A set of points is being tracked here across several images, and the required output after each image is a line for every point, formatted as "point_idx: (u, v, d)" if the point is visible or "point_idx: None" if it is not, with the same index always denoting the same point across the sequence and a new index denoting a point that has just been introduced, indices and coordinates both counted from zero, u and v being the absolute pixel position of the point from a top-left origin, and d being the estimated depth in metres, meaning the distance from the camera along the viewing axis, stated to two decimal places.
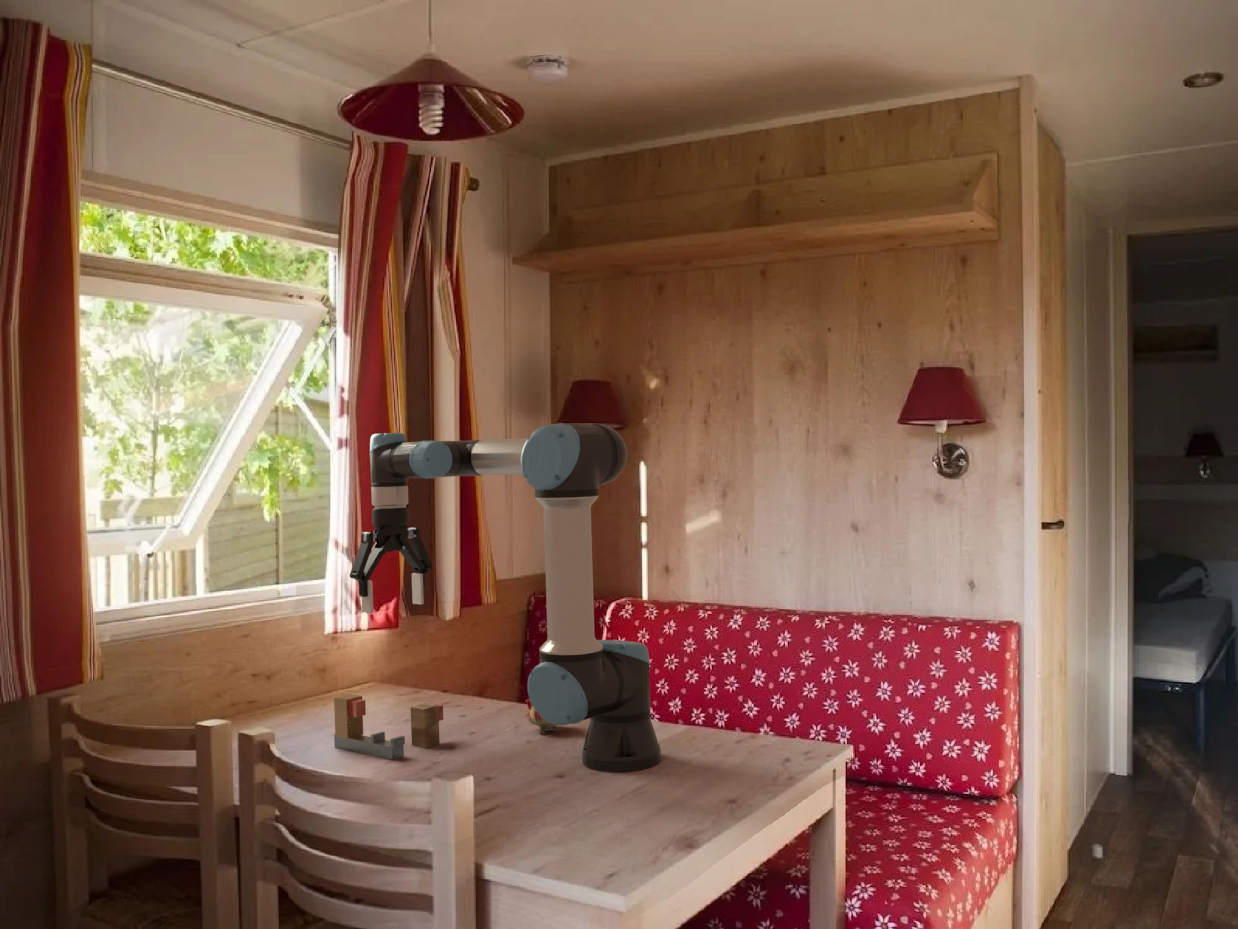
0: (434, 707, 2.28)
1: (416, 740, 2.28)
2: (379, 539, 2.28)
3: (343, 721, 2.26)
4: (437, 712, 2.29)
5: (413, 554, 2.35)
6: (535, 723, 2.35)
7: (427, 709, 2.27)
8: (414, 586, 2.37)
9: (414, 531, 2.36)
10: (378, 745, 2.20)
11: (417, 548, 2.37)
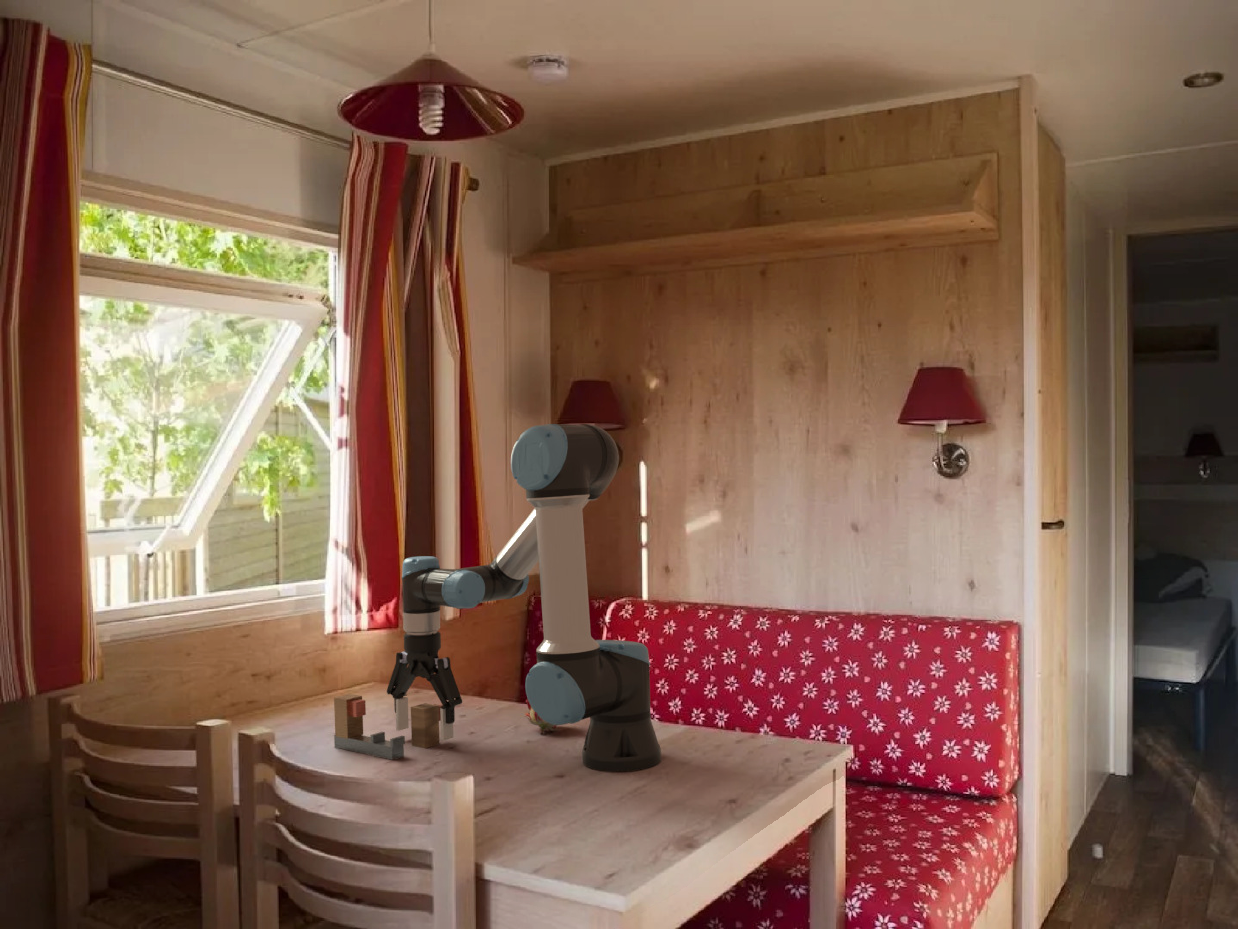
0: (434, 707, 2.28)
1: (416, 740, 2.28)
2: None
3: (343, 721, 2.26)
4: (437, 712, 2.29)
5: (435, 685, 2.25)
6: (535, 723, 2.35)
7: (427, 709, 2.27)
8: None
9: None
10: (378, 745, 2.20)
11: None
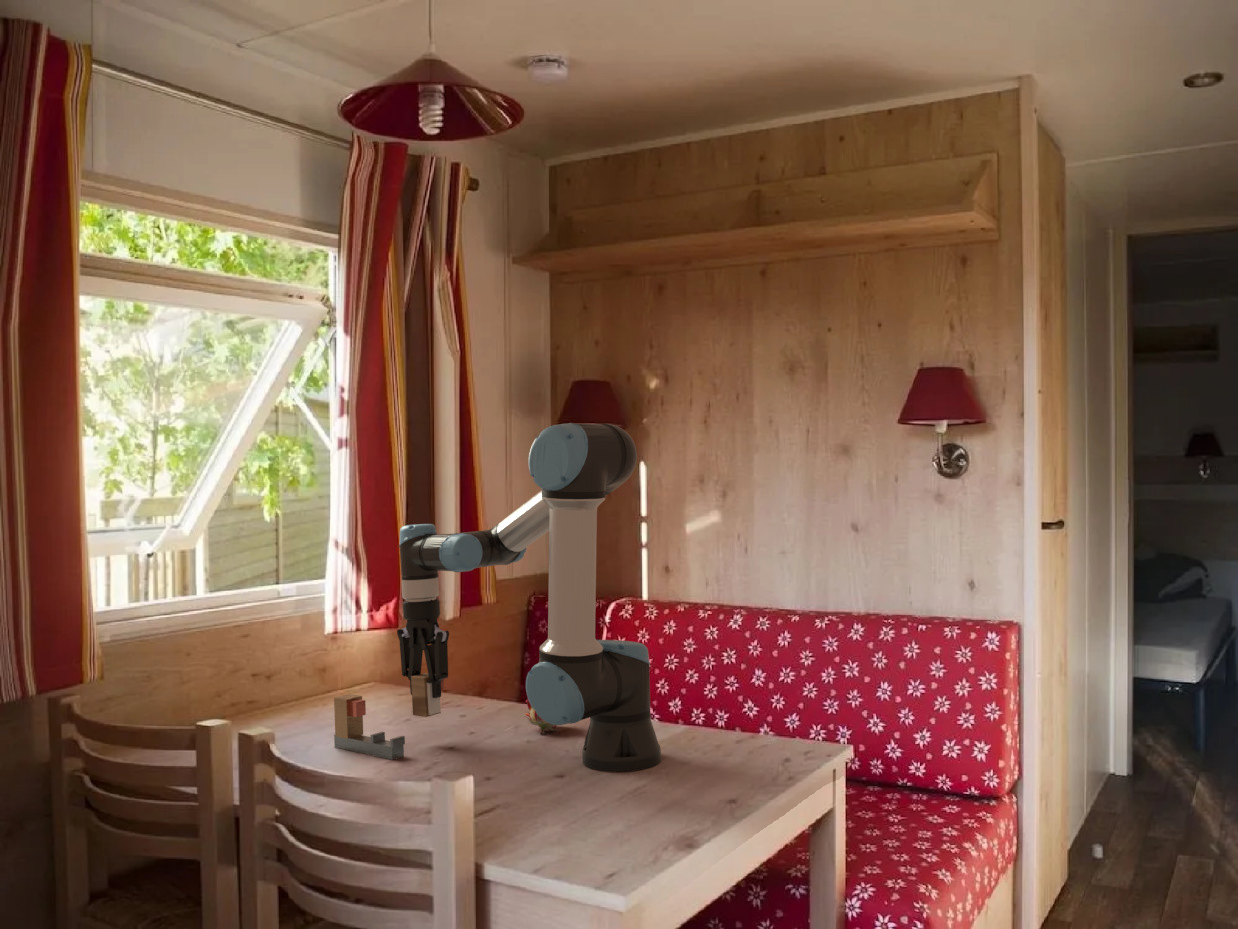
0: None
1: (417, 709, 2.27)
2: (408, 631, 2.30)
3: (343, 721, 2.26)
4: None
5: (427, 657, 2.26)
6: (535, 723, 2.35)
7: (427, 678, 2.26)
8: None
9: None
10: (378, 745, 2.20)
11: None
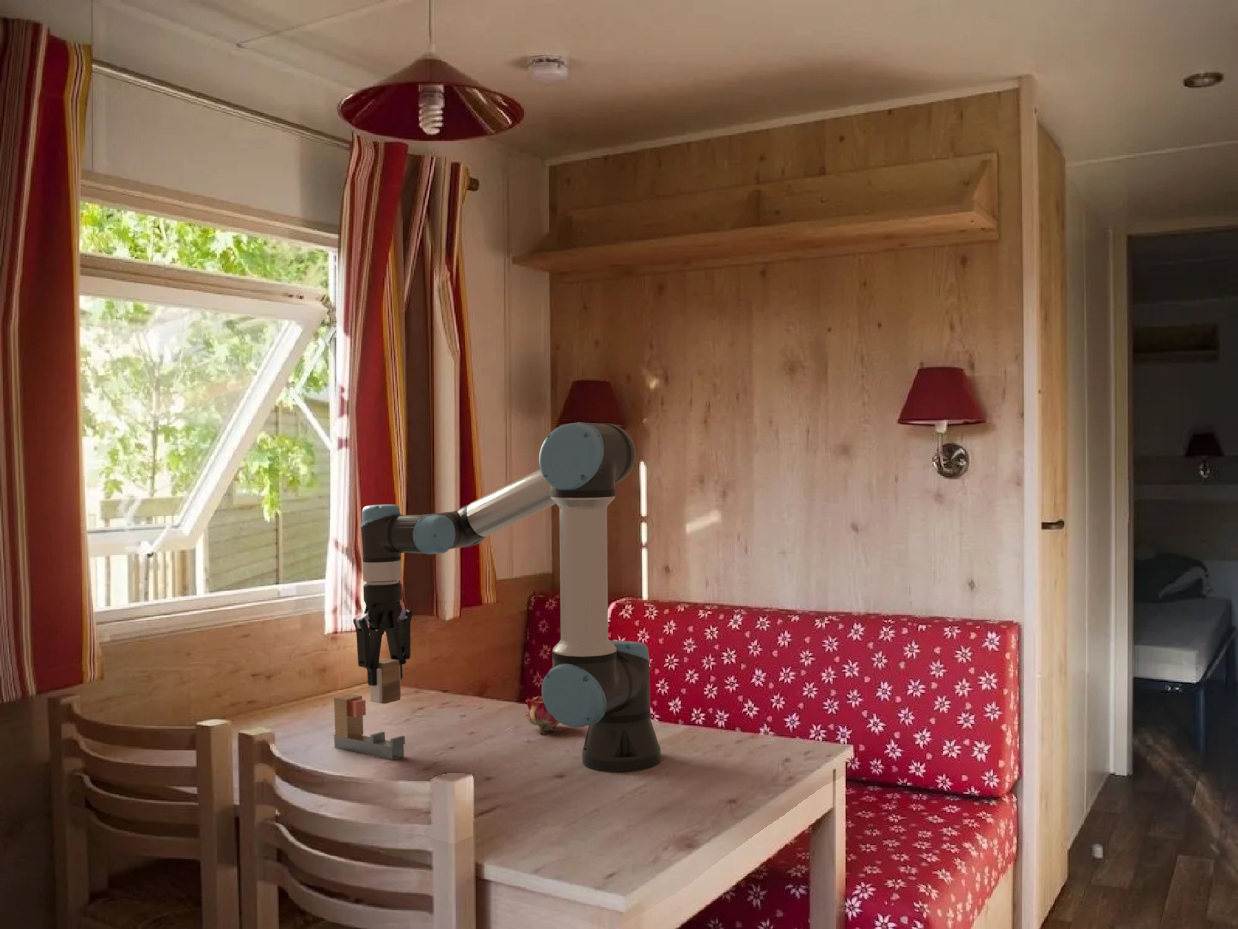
0: None
1: (390, 696, 2.19)
2: (372, 618, 2.17)
3: (343, 721, 2.26)
4: None
5: (398, 639, 2.22)
6: (535, 723, 2.35)
7: None
8: None
9: (407, 613, 2.24)
10: (378, 745, 2.20)
11: (402, 632, 2.24)
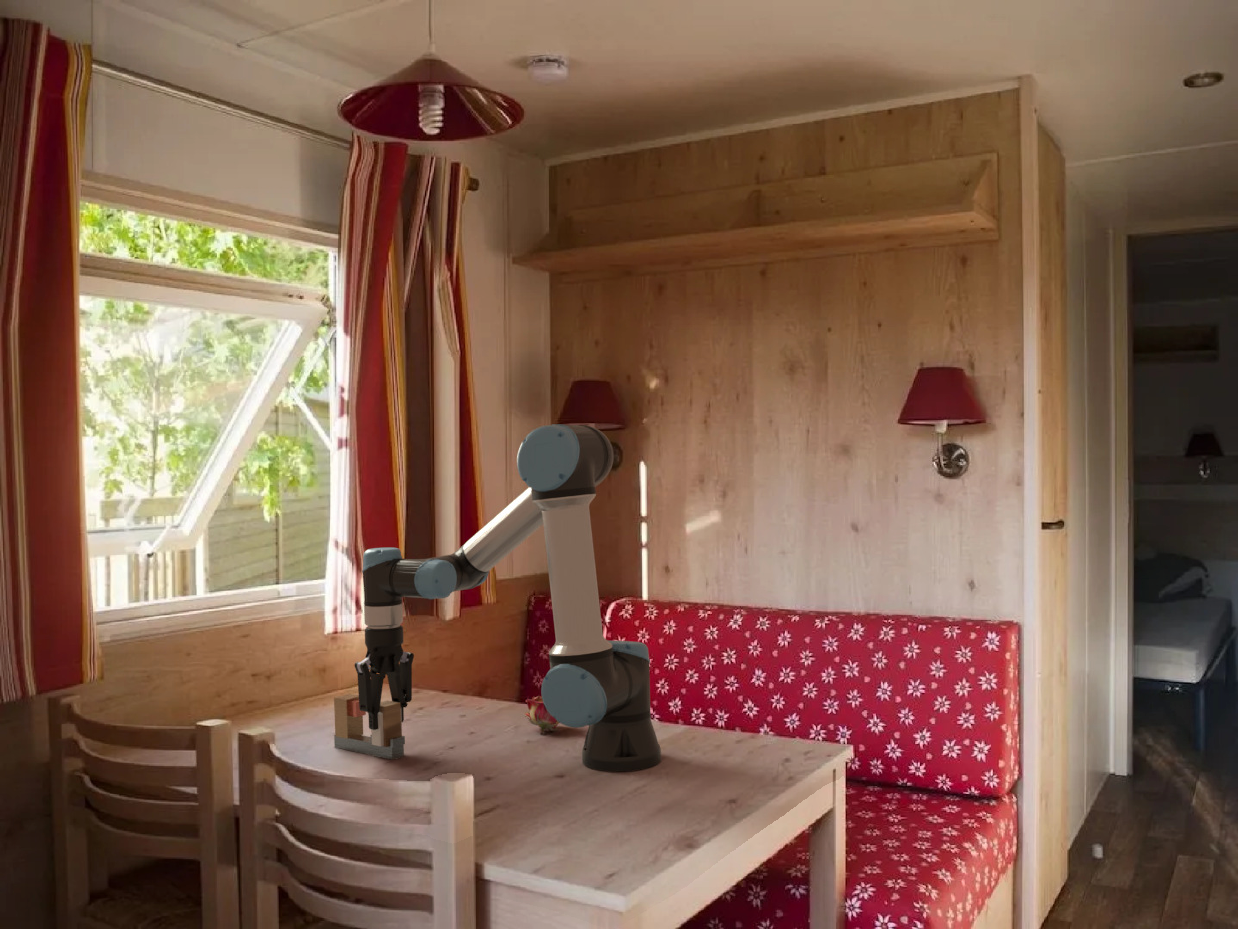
0: None
1: None
2: (374, 662, 2.18)
3: (343, 721, 2.26)
4: None
5: (399, 682, 2.22)
6: (535, 723, 2.35)
7: None
8: None
9: (408, 655, 2.24)
10: None
11: (403, 675, 2.24)
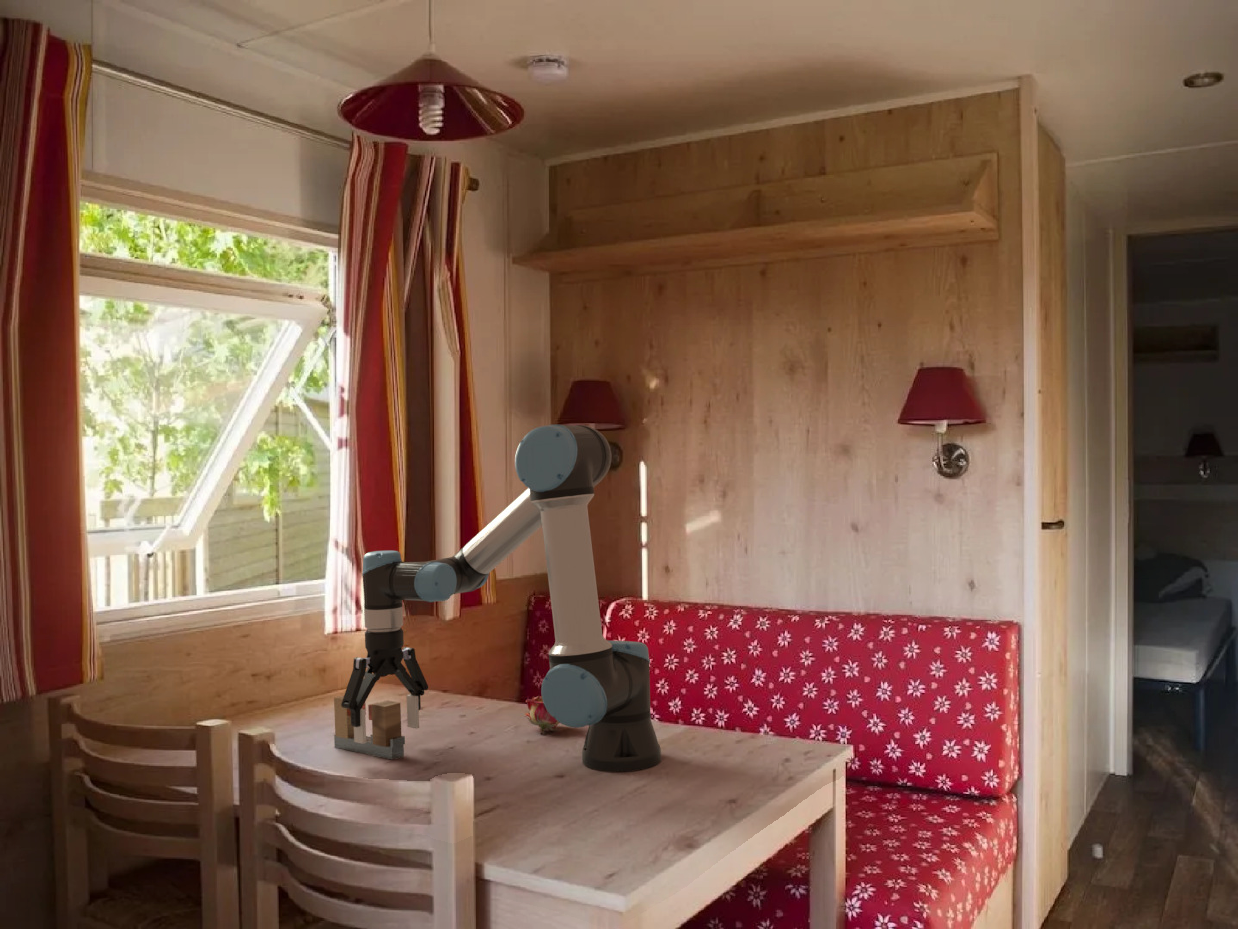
0: None
1: None
2: (372, 664, 2.17)
3: (343, 721, 2.26)
4: None
5: (408, 676, 2.24)
6: (535, 723, 2.35)
7: None
8: (409, 709, 2.26)
9: (409, 652, 2.25)
10: None
11: (412, 669, 2.26)
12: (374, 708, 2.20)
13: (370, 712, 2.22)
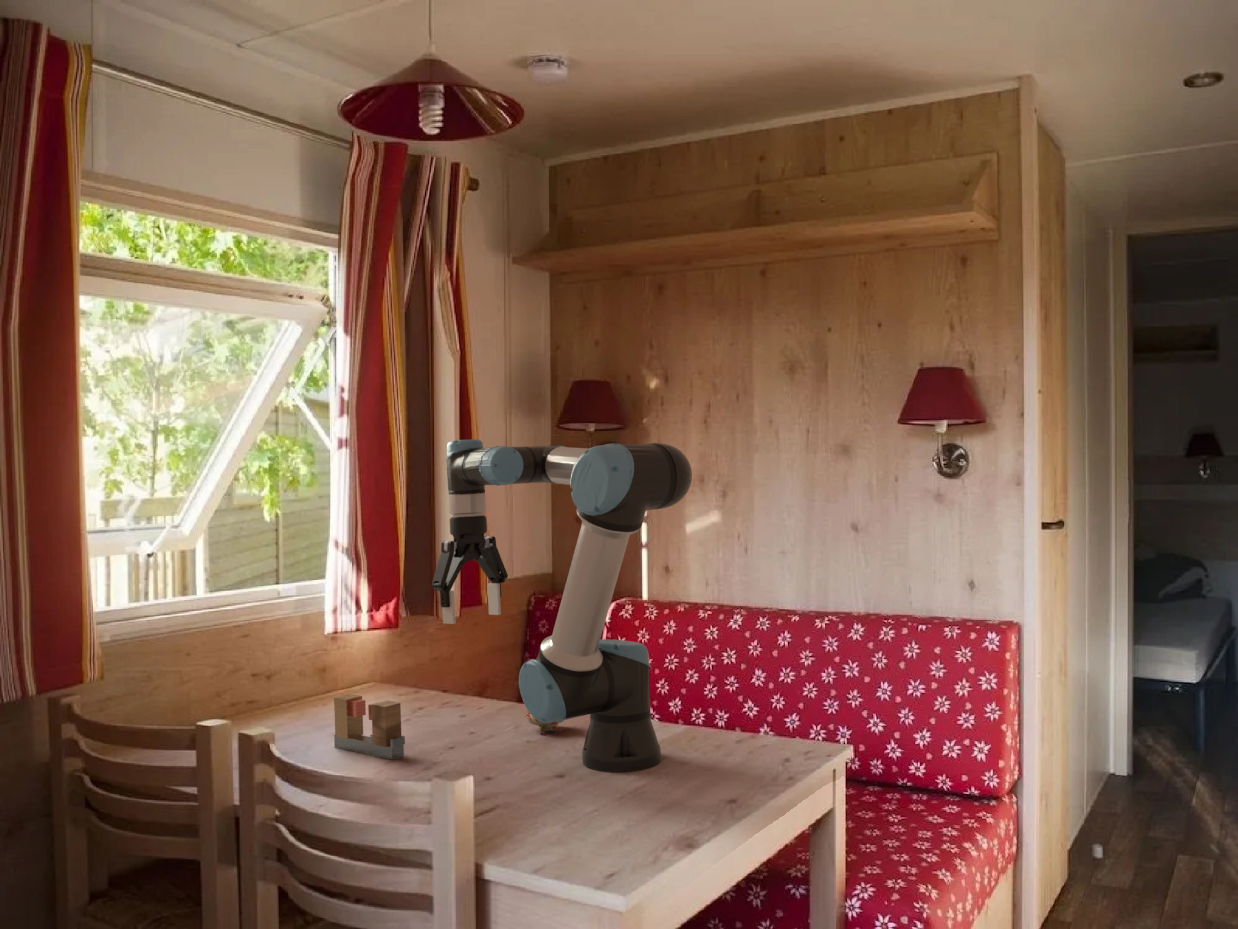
0: None
1: None
2: (459, 548, 2.23)
3: (343, 721, 2.26)
4: None
5: (490, 563, 2.30)
6: (535, 723, 2.35)
7: None
8: (490, 596, 2.32)
9: (490, 540, 2.31)
10: None
11: (493, 558, 2.32)
12: (374, 708, 2.20)
13: (370, 712, 2.22)
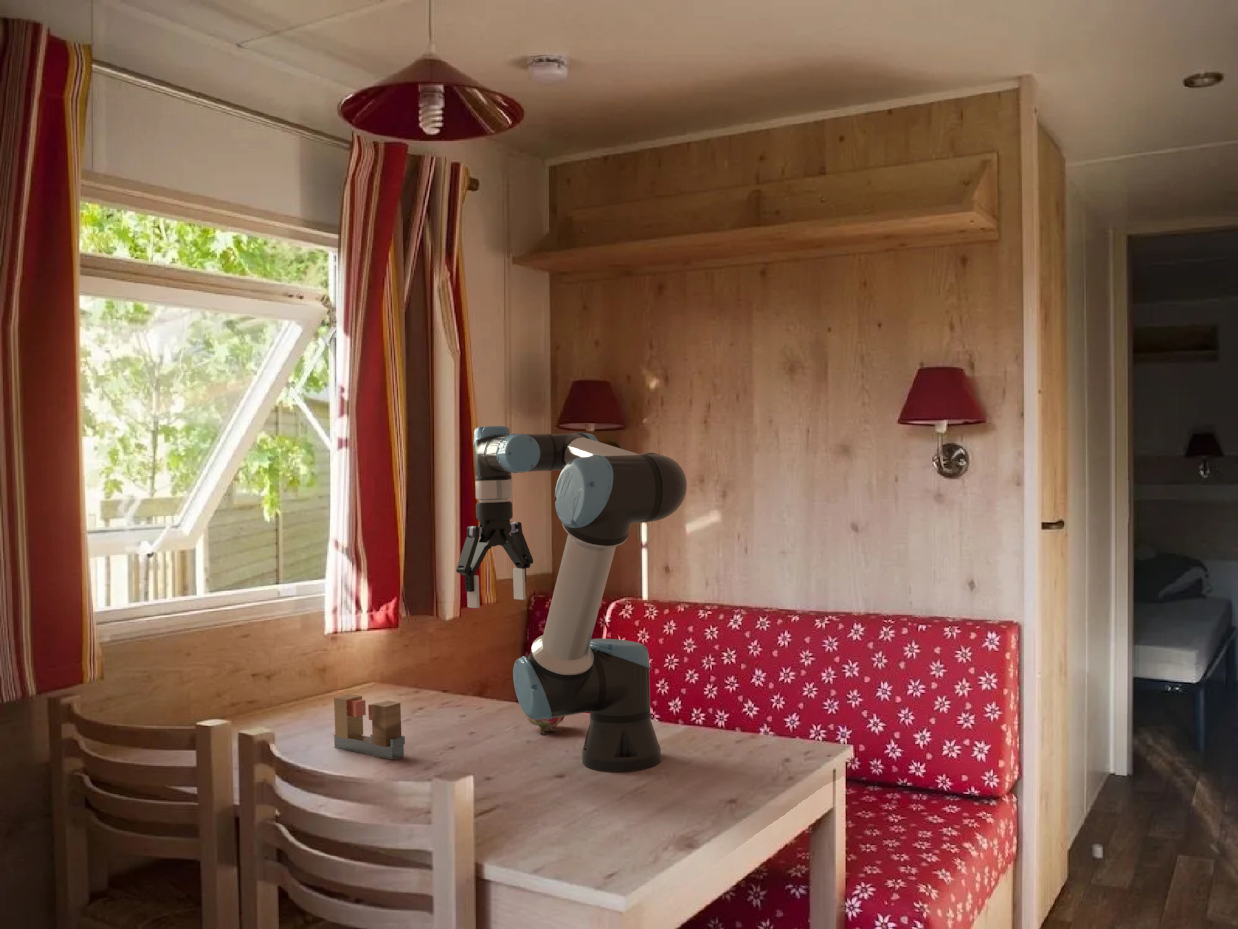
0: None
1: None
2: (484, 533, 2.25)
3: (343, 721, 2.26)
4: None
5: (516, 549, 2.32)
6: (535, 723, 2.35)
7: None
8: (515, 581, 2.34)
9: (516, 525, 2.33)
10: None
11: (518, 543, 2.34)
12: (374, 708, 2.20)
13: (370, 712, 2.22)
